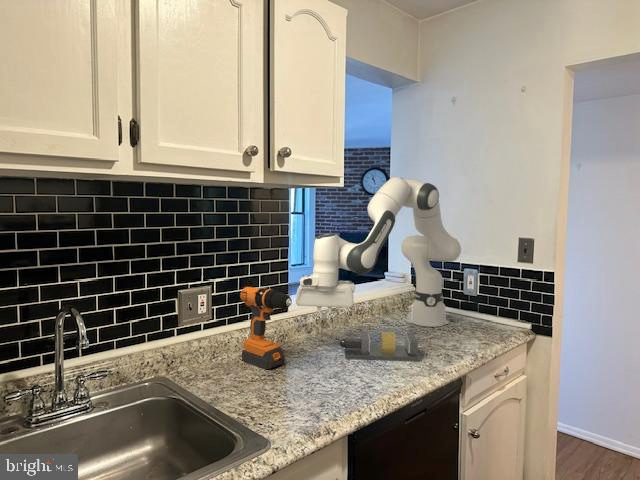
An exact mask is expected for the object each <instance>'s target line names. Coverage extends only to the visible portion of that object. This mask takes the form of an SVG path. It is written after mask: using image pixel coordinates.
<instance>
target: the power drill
mask: <svg viewBox="0 0 640 480" xmlns="http://www.w3.org/2000/svg"><path fill="white" fill-rule="evenodd" d="M239 297H240V300H241V301H242V302H243V303H244V304H245V306H246V308H247V307H248V308H249V309H250V310H251V318H250V325H249V326H250V337H249V338H246V339H245V340H244V341H243V350H241V360H242V362H245V363H248V364H249V365H253V366H255V367H257V368H259V369H260V368H261V369H263V370H266V371H267V370H269V369H273V368H275V367H278V366H280V365H281V364H284V363H285V361H286V360H285V359H286V357H285V354H284V352H283V350H282V347H281V345H280V344H279V343H275V342H274V341H271V340H268V339H265V335H266V334H265V333H266V325H267V323H266V322H267V321H271V314H272V313H273V312H274V309H275V310H277V309H279V310H280V309H282V310H283V309H284V310H286V309H288V308H289V307H290V306H291V305H292V304H293V300H292V298H291V296H290V295H289V294H286V293H283V292H280V291H278V290H276V289H272V288H266V287H260V288H259V287H252V286H245V287H243V289H242V290H241V291H240V293H239Z"/></svg>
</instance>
